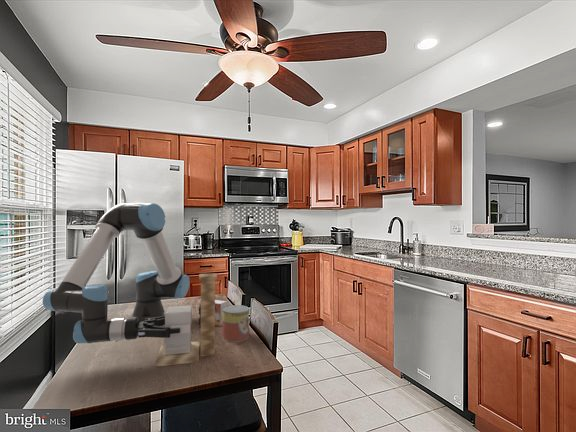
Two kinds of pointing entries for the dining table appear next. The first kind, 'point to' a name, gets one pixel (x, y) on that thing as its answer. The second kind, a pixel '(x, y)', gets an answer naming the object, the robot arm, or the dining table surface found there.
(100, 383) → the dining table surface
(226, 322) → the canned food
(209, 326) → the oak post
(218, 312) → the small box
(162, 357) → the maple pad
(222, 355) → the dining table surface
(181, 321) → the supplement box
